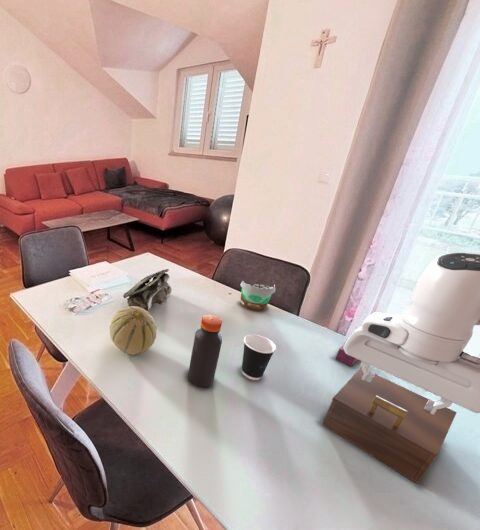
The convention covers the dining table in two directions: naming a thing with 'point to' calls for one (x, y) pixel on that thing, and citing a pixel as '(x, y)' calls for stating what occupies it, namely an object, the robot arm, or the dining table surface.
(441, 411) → the lid
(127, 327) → the cantaloupe
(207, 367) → the bottle
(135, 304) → the hollow geode rock
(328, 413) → the chest
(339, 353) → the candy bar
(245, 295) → the food container
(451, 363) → the robot arm
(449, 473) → the dining table surface
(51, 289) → the dining table surface
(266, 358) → the dixie cup
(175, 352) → the dining table surface
